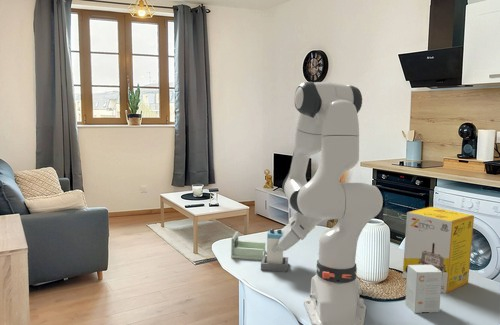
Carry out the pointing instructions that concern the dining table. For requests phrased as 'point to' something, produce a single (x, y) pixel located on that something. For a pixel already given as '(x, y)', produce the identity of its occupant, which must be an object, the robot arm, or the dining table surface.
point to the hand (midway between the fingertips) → (273, 248)
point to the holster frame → (274, 265)
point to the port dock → (247, 249)
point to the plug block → (271, 242)
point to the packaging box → (440, 244)
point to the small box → (423, 288)
